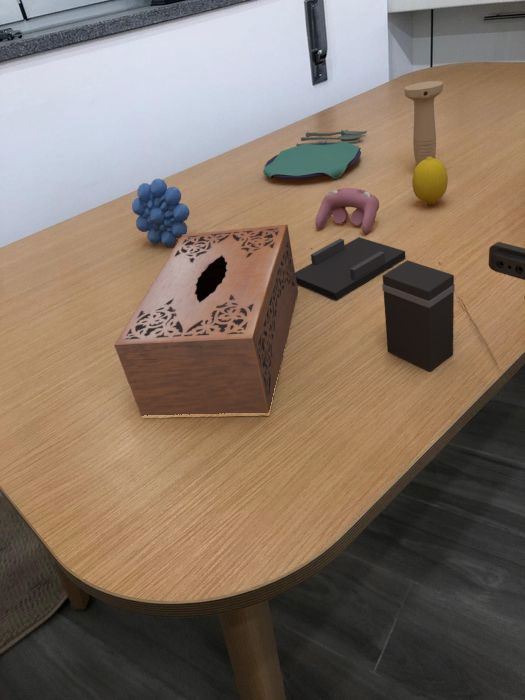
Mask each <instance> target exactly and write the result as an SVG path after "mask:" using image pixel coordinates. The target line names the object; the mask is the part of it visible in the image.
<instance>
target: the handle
mask: <svg viewBox="0 0 525 700" xmlns="http://www.w3.org/2000/svg"><path fill="white" fill-rule="evenodd" d="M443 90H444V82H443V81H441V80H430V81H421V82H417V83H416V82H415V83H412V84H409V85H406V86H405V87H404V96H405V97H406V98H407V99H409V100H411V101H413V108H414V109H413V136H412V137H413V139H412V140H413V141H412V145H413V154H414V160H415V167H416V166H417V165H418V164H419V163H420V162H421V161H423V160H425V159H426V158H427V157H432V158H434V159H436V152H437V133H436V132H437V131H436V119H435V98H436V97H437V96H439V95H440V94H441V93H442V92H443Z"/></svg>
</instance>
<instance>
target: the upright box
mask: <svg viewBox="0 0 525 700" xmlns="http://www.w3.org/2000/svg"><path fill="white" fill-rule="evenodd" d="M381 286H382V292H383V301H384V302H383V303H384V318H385V319H384V320H385V333H386V348H387V349H386V350H387V353H389V354H391V355H393V356H395V357H397V356H398V357H397V358H400V359H402V360H404V361H405V362H408V363H410V364H412V365H415V366H416V367H419V368H421V369H424V370H425V371H427V372H432V371H433V370H434V369H436V368H438V367H439V366H440V365H441V364H442V363H444V362H445V361H447V360H448V359H449V358H451V357H452V356H453V355H454V317H455V316H454V312H455V311H454V310H455V309H454V307H455V305H454V302H455V301H454V300H455V295H454V294H455V291H456V290H455V288H456V287H455V275H454V274H452V273H450V272H446V271H443V270H439V269H437V268H433V267H430V266H427V265H423V264H420V263H418V262H415V261H411V260H405V261H404V262H402V263H400V264H398V265H397V266H395V267H394V268H392V269H391V270H389V271H387V272H385V273H384V274H382V285H381Z"/></svg>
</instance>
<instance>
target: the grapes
mask: <svg viewBox="0 0 525 700" xmlns="http://www.w3.org/2000/svg"><path fill="white" fill-rule="evenodd" d="M181 200H182V192H181V190H180V189H179V188H177V187H175V186H169V187H168V185H167V183H166V181H165V180H163V179H162V178H154V180H152V182H151V183H150V184H149V183H146V182H145V183H144V182H143V183H141V184H140V185H139V186H138V188H137V197H135V198H134V199H133V201H132V203H131V210H132V212H133V213H134V214H135V215H136V216H137V218H136V221H135V226H136V229H137V230H138V231H139V232H141V233H147V235H146V236H147V240H148V242H149V243H150V244H152V245H158V244H160V243H162V244H163V246H165V247H169V248H170V247H173V246H175V245H176V244H177V242H178V241H177V239H180V238H181V236H182V235H183V234H188V226H187V223H186V221H188V218H189V216H190V208H189V207H188V205H187V204H185V203H180V202H181Z"/></svg>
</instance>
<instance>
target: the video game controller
mask: <svg viewBox="0 0 525 700" xmlns="http://www.w3.org/2000/svg"><path fill="white" fill-rule="evenodd" d="M347 208H354V209H355V210H353V212H352V213H351V215H350V223H352V224H353V225H354V226H357V227H359V226H361V232H362V234H363V235H368V234H369V233H370V232H371V230H372V229H373V227H374V225H375V221H376V217H377V212H378V211H379V208H380V200H379V198H378V197H377V196H376V195H374V194H372V193H370V192H369V191H366V190H363V189H361V188H360V189H359V188H355V187H343V188H339V189H334V190H329V191H328V192H327V194H326V195H324V197H323V199H322V201H321V203H320V207H319V209H318V212H317V214H316V216H315V222H314V223H315V228H316V229H317V230H319V231H320V230H322V229H323V228H325V226H326V225H327V223H328V221H329V220H330V218H331V216H332V218H333V220H334V221H333V222H335V223H336V224H340V225H343V224H346V223H347V222H348V221H349V212H348V211H347Z"/></svg>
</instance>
